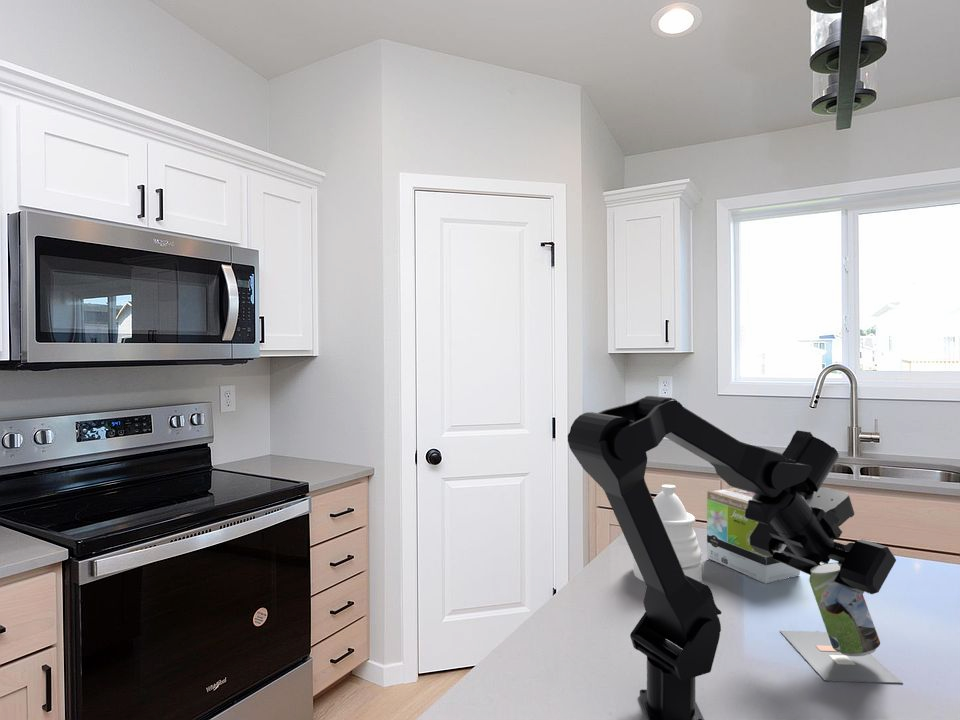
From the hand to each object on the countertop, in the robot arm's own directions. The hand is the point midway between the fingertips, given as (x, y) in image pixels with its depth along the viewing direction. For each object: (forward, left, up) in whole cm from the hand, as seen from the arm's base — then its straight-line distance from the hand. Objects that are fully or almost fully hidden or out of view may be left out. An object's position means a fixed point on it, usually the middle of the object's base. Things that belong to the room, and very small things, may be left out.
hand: (842, 584), depth 87 cm
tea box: (+34, 0, -10) cm, 36 cm away
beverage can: (-3, 0, -9) cm, 9 cm away
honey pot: (+29, +18, -10) cm, 36 cm away
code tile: (-1, +1, -10) cm, 10 cm away
